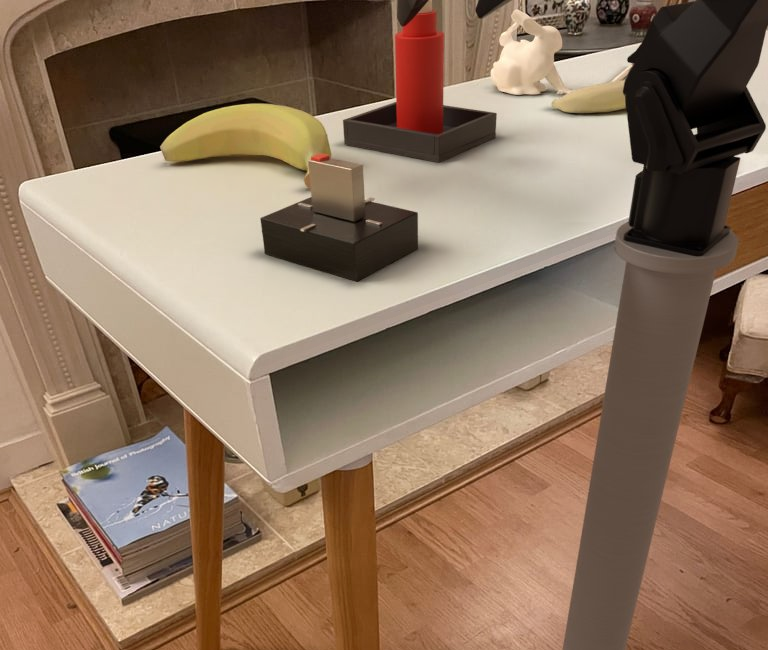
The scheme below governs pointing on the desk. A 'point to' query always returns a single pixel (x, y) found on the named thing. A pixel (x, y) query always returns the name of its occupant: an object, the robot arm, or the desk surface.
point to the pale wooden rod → (622, 74)
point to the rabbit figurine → (528, 59)
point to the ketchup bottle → (420, 73)
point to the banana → (250, 135)
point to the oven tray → (420, 133)
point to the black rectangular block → (340, 238)
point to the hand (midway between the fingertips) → (440, 18)
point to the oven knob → (337, 187)
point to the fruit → (593, 99)
